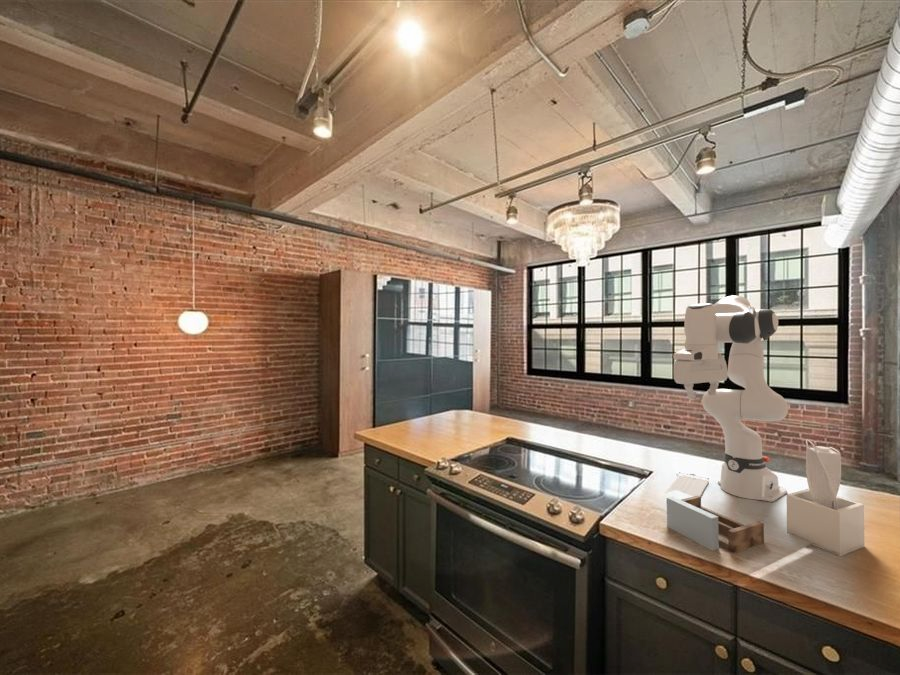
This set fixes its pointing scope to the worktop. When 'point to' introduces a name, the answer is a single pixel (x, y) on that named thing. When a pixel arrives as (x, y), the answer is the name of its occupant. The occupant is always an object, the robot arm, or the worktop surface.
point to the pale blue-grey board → (693, 523)
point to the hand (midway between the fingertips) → (701, 396)
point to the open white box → (826, 523)
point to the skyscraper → (823, 474)
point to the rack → (734, 529)
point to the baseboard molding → (689, 485)
